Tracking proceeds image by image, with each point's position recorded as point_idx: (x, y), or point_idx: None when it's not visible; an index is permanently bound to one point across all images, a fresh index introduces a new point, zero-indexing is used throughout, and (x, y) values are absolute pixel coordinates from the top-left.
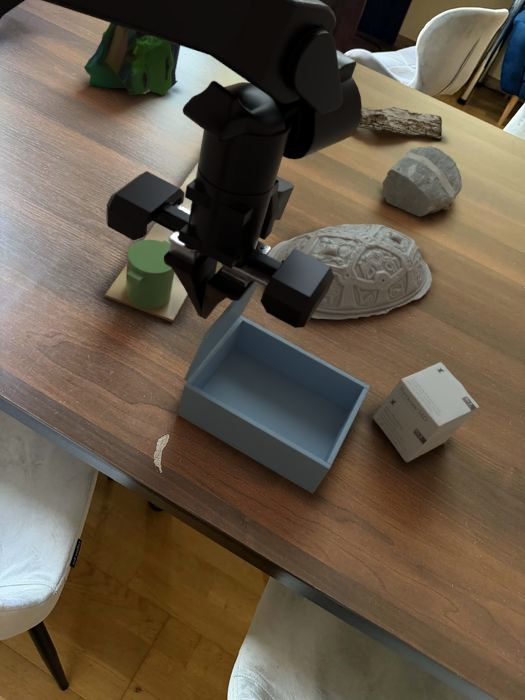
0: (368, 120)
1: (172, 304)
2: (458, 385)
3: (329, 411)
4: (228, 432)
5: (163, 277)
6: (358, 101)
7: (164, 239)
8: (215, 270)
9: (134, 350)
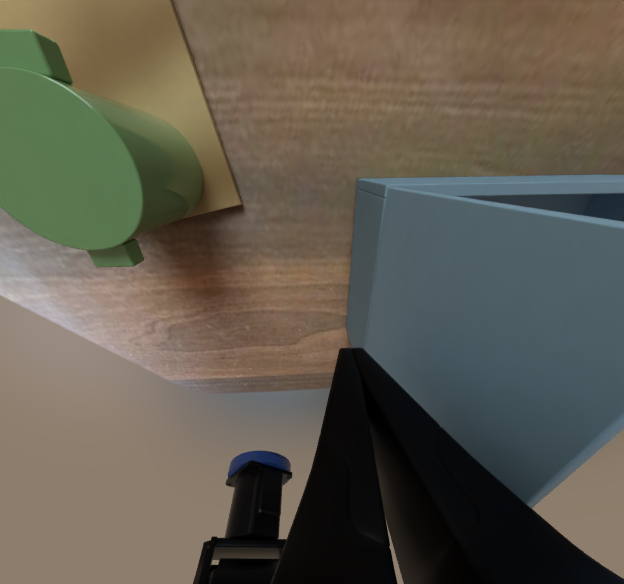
0: None
1: (210, 167)
2: None
3: (559, 207)
4: None
5: (154, 208)
6: None
7: None
8: (382, 505)
9: (241, 287)
